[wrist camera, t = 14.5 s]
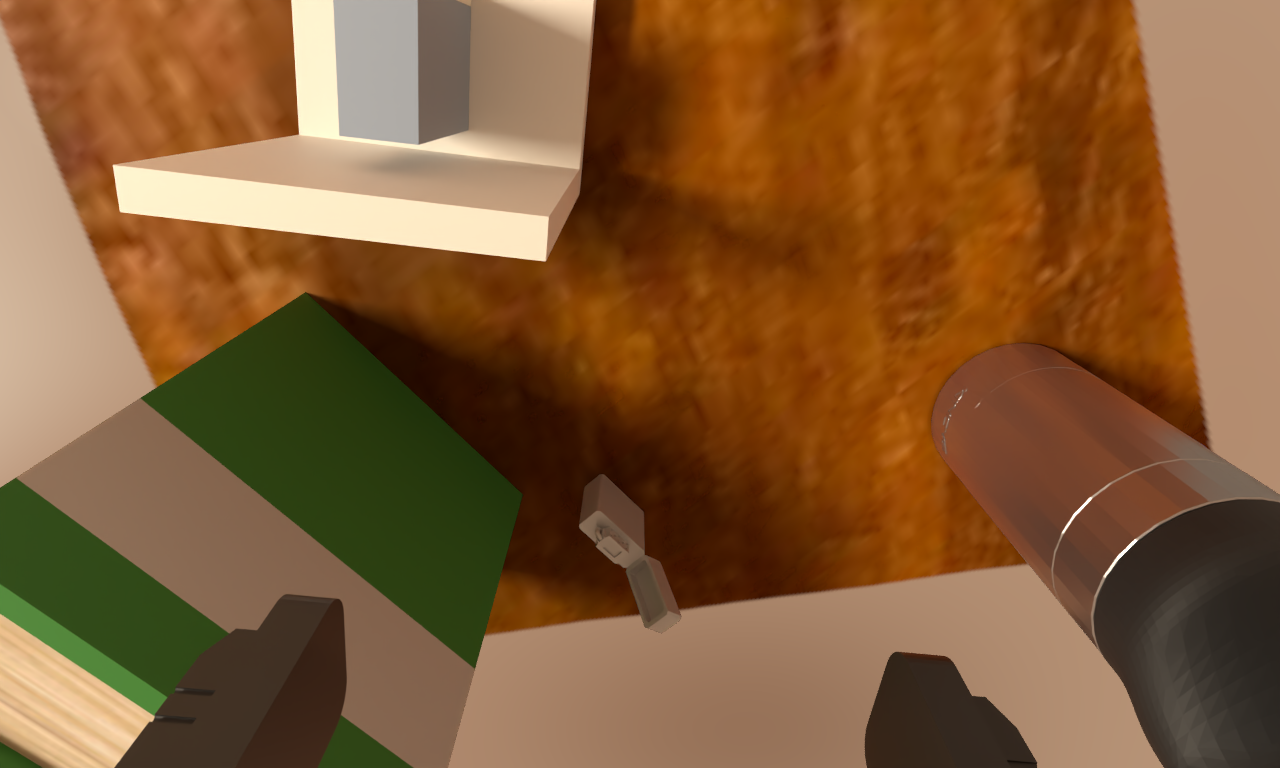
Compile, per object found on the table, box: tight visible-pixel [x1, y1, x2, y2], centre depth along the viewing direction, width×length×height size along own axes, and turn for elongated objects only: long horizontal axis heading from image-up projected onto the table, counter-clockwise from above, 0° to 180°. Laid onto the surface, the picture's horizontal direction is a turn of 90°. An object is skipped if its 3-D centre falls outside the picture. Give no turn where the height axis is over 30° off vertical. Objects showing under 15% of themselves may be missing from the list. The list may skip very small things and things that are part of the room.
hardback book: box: [0, 292, 523, 768], centre depth 34 cm, size 18×7×24 cm, turn 41°
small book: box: [333, 0, 471, 145], centre depth 31 cm, size 3×6×9 cm, turn 174°
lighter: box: [579, 474, 681, 633], centre depth 44 cm, size 7×2×8 cm, turn 42°
